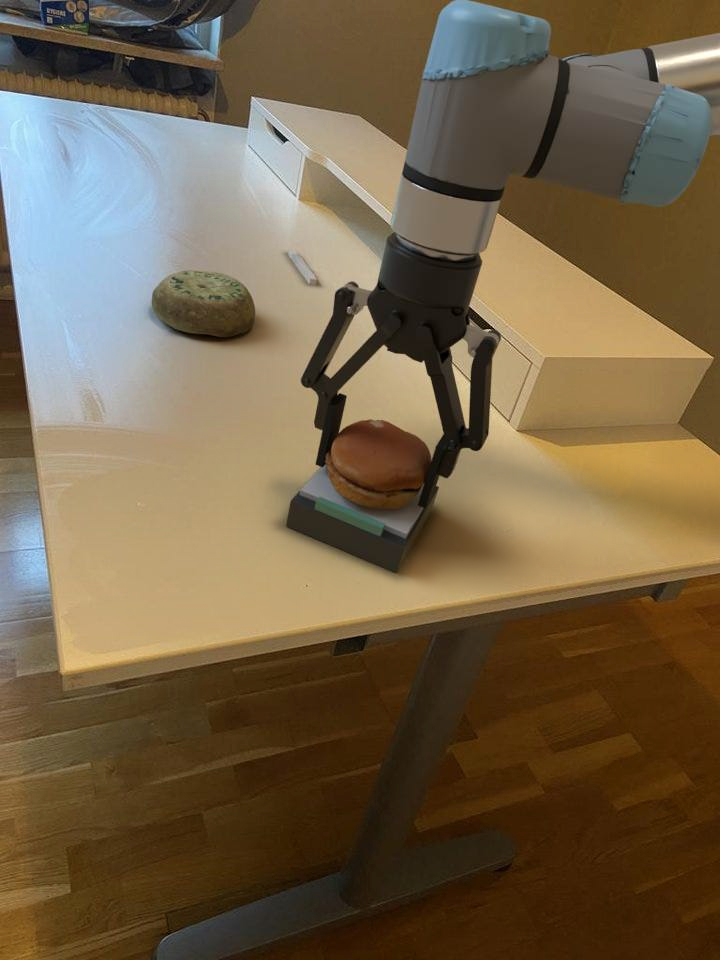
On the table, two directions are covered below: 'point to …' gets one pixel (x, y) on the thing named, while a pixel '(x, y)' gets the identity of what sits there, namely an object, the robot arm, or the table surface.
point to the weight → (204, 303)
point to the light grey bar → (302, 267)
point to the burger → (377, 464)
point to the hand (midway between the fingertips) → (374, 479)
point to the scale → (357, 522)
